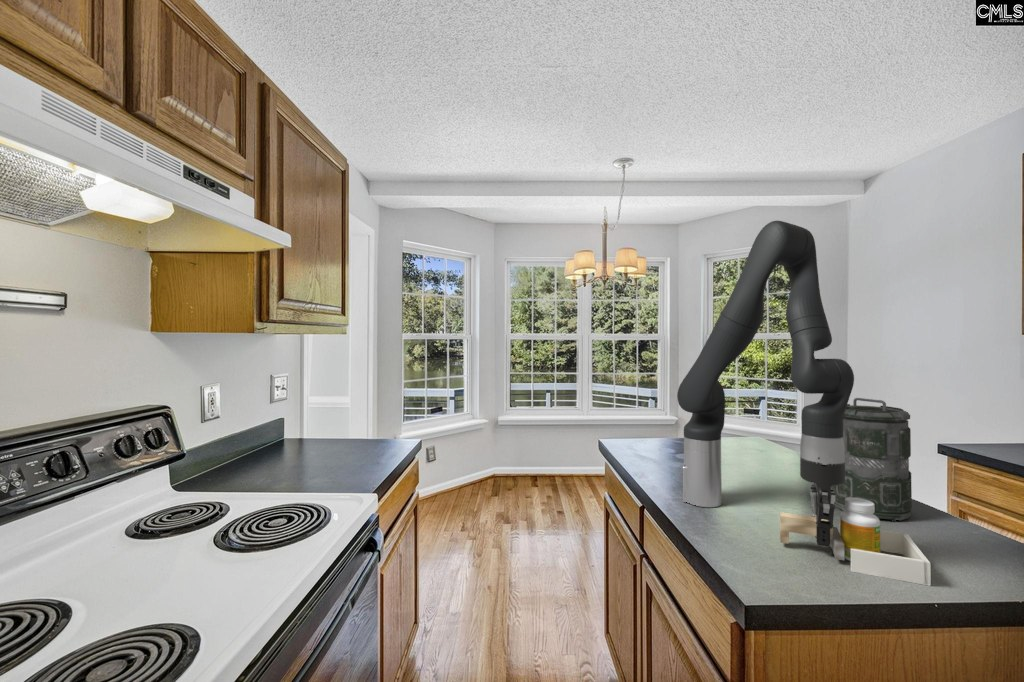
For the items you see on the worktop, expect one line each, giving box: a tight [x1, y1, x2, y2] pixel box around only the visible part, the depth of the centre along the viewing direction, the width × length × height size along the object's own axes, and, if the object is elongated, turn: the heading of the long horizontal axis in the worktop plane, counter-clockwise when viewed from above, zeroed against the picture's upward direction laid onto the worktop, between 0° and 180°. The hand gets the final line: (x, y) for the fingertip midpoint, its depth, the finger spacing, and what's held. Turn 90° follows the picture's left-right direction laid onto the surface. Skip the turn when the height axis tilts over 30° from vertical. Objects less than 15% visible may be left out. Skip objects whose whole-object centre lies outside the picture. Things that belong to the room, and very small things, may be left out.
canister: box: [831, 397, 913, 522], centre depth 115 cm, size 16×16×28 cm
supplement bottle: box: [839, 498, 881, 562], centre depth 90 cm, size 6×6×11 cm
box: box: [838, 523, 932, 587], centre depth 88 cm, size 11×14×4 cm
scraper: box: [779, 511, 845, 561], centre depth 94 cm, size 10×9×6 cm
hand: (822, 541), depth 92 cm, fingers closed on scraper, 2 cm apart
